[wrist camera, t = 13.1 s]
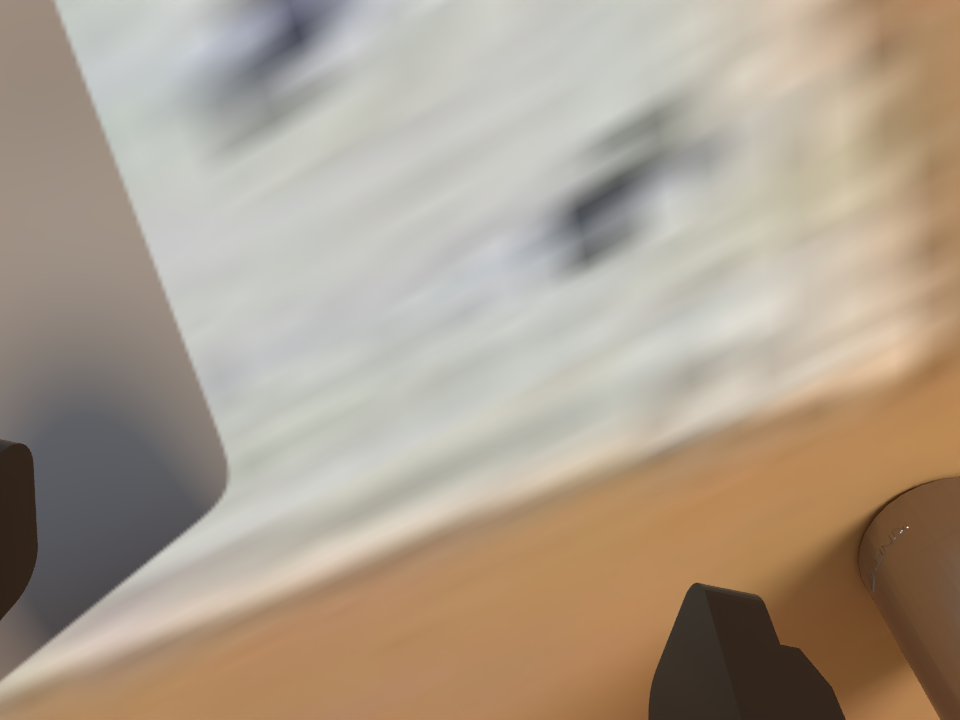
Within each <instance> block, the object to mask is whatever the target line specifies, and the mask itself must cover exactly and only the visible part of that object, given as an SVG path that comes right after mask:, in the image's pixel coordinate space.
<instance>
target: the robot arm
mask: <svg viewBox="0 0 960 720" xmlns="http://www.w3.org/2000/svg"><path fill="white" fill-rule="evenodd" d="M37 551H38V542H37V524H36V505H35V487H34V468H33V457H32V454H31V452H30V450H29V448H28V447H27V446H26V445H24V444H21V443H16V442H11V441H6V440H1V439H0V620H1V619H2V618H3V617H4V615H5V614H6V613H7V612H8V611H9V610H10V609H11V607H12V606H13V605H14V604H15V603H16V602H17V600H18V599H19V598H20V596H21V595H22V593H23V592H24V590H25V588H26V586H27V585H28V582H29V580H30V578H31V575H32V573H33V570H34V567H35V563H36V558H37ZM858 564H859V569H860V574H861V577H862V579H863V581H864V583H865V585H866V587H867V589H868V591H869V593H870V594H871V596H872V598H873V600H874V602H875V603H876V605H877V607H878V609H879V610H880V612H881V614H882V616H883V618H884V619H885V621H886V623H887V625H888V627H889V628H890V630H891V632H892V634H893V636H894V638H895V640H896V642H897V643H898V645H899V647H900V649H901V650H902V652H903V654H904V656H905V658H906V659H907V661H908V663H909V665H910V666H911V668H912V670H913V672H914V674H915V675H916V677H917V679H918V681H919V682H920V684H921V686H922V688H923V690H924V691H925V693H926V695H927V697H928V699H929V700H930V702H931V704H932V706H933V707H934V709H935V711H936V713H937V715H938V716H939V718H940V720H960V477H955V478H947V479H940V480H937V481H934V482H930V483H927V484H924V485H921V486H919V487H917V488H915V489H912V490H910V491H908V492H906V493H904V494H902V495H901V496H900V497H898V498H897V499H895V500H894V501H893V502H891V503H890V504H888V505H887V506H886V507H885V508H884V509H883V510H882V511H881V512H880V513H879V514H878V515H877V516H876V517H875V518H874V520H873V521H872V523H871V524H870V526H869V527H868V529H867V530H866V532H865V534H864V537H863V540H862V542H861V545H860V548H859V560H858ZM649 720H846V719H845V717H844V715H843V712H842V710H841V708H840V705H839V703H838V701H837V698H836V696H835V694H834V691H833V689H832V687H831V686H830V685H829V683H828V682H827V681H826V680H825V679H824V677H823V676H822V675H821V674H820V673H819V671H818V670H817V669H816V668H815V667H814V666H813V664H812V663H811V662H810V661H809V660H808V658H807V657H806V656H805V655H804V654H803V652H802V651H801V650H800V649H799V648H794V647H789V646H784V645H780V643H779V640H778V638H777V635H776V632H775V630H774V627H773V624H772V622H771V619H770V616H769V614H768V611H767V608H766V606H765V604H764V602H763V600H762V599H761V598H760V597H759V596H758V595H755V594H750V593H745V592H740V591H735V590H730V589H725V588H720V587H715V586H710V585H705V584H700V583H694V584H693V585H692V586H691V587H690V588H689V590H688V591H687V593H686V596H685V598H684V600H683V603H682V605H681V608H680V611H679V613H678V616H677V618H676V621H675V623H674V626H673V628H672V631H671V633H670V636H669V638H668V641H667V644H666V646H665V649H664V651H663V654H662V656H661V659H660V661H659V664H658V666H657V669H656V672H655V674H654V678H653V681H652V686H651V691H650V699H649Z"/></svg>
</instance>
